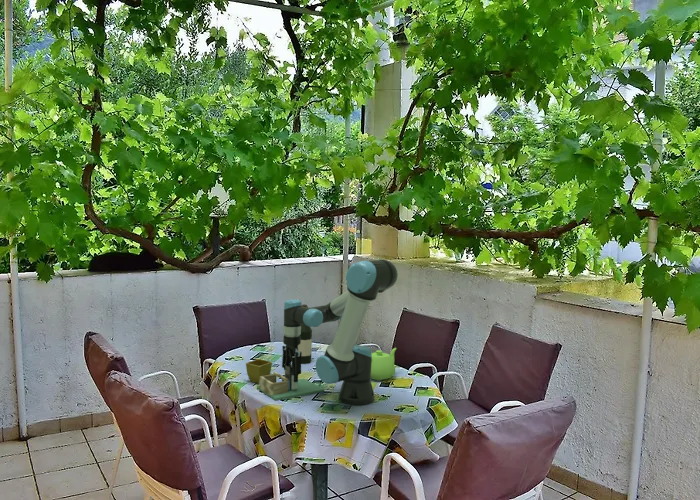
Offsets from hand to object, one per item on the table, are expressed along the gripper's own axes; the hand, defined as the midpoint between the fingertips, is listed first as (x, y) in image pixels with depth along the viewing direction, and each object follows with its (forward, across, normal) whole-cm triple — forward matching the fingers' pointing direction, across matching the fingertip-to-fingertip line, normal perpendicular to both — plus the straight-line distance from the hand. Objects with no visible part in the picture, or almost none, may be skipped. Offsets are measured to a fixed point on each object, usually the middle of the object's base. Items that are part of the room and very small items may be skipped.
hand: (291, 386), depth 261 cm
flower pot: (+2, +19, +7) cm, 20 cm away
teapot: (+2, -2, -47) cm, 47 cm away
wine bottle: (+2, +38, -27) cm, 47 cm away
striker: (+1, 0, +1) cm, 1 cm away
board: (+2, +1, 0) cm, 2 cm away
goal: (+2, +2, +8) cm, 8 cm away
